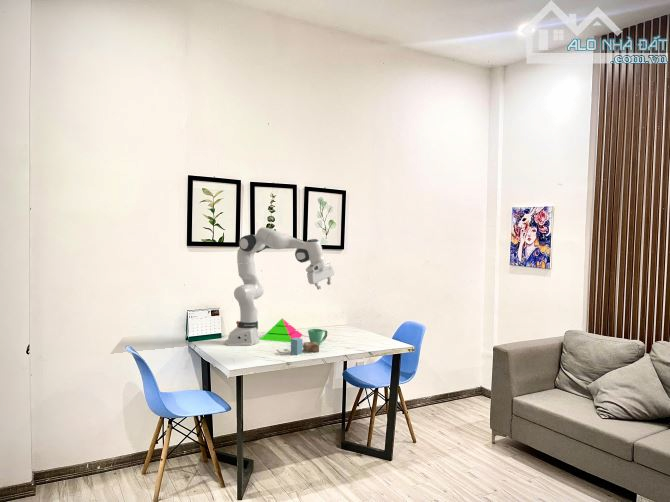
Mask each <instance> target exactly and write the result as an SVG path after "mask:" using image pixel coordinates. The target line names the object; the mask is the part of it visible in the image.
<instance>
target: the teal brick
mask: <svg viewBox="0 0 670 502" xmlns="http://www.w3.org/2000/svg"><path fill="white" fill-rule="evenodd" d="M290 348H291V352H290V355H295V356H298V355H302V354H303V338H301V337H300V338H293V339H291V342H290Z"/></svg>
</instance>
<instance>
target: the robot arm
mask: <svg viewBox="0 0 670 502" xmlns="http://www.w3.org/2000/svg"><path fill="white" fill-rule="evenodd" d="M238 246H239V248H238V249H237V254H236V261H237V271H238V272H237V273H238V276H239V278H240V279H241V280H242V282H243V284H241V285H239V286H237V287H236V288H235V289H234V292H233V296H234V299H235V300H236V301H237V302H238V305H239V306H238V307H239V311H240V312H239V313H240V315H239V317H240V318H239V319H240V320H237V321H236V322H235V323H236V327H235V328H234V329H233V330H231V331H230V332H229V334H228V337H227V339H225V340H224V344H225V345H226V346H253V345H256V344H259V343H260V339H259V333H258V331H259V330H258V329H259V321H258V309H257V307H256V306H255V302H254V300H258V299H259V298H261V297H262V296H263V295H264V291H265V290H264V289H265V288H264V286H263V285H262V284H261V283H260V281H259V279H258V276H257V273H256V264H255V259H254V258H255V257H254V255H255V254H257V253H260V252H262V251H264V250H266V249H267V247H269V248H271V249H274V250H281V249H288V248H289V249H291V248H293V249H296V250H295V252H294V256H295V259H296V260H297V262H299V263H306V262H310V264H309V265H308V266H307V267H306V269H305V271H306V273H307V274H306V277H307V281H308V284H310V285H314V286H315V287H316V290H321V289H322V288H321V285H319V283H320V282H322V281H324V280H327V281H326V284H327V285H328V286H330V285H331V284H332V283H331V280H332V276H334V275H335V270H334V267H333V265H332V263H331V261H329V260H328V261H326V259H325V257H324V251H323V246H322V244H321V242H320V240H319V239H316V238H312V239H311V238H310V239H308V240H306V241H304V240H302V239H300V238H296V237H293V236H290V235H287V234H284V233H281V232H279V231H276V230H275V229H272V228H269V227H265V226H262V227H260V228H259V229H258V230H257V231H256V233H255V234H247V235H244V236H242V237H240V239H239V240H238Z"/></svg>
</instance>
